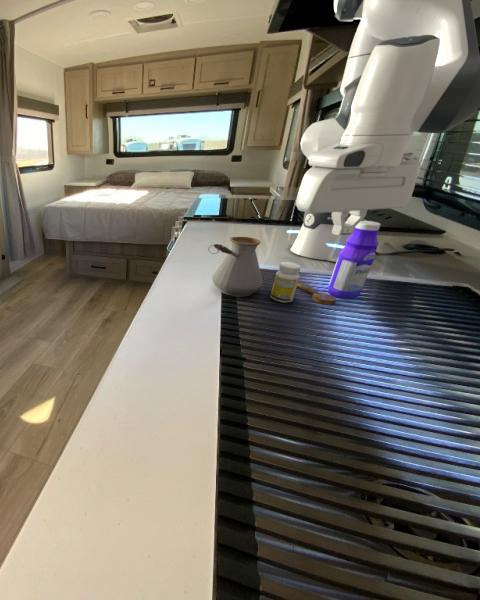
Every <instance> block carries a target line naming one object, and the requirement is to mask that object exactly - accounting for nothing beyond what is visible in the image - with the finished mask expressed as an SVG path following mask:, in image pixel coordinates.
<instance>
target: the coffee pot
mask: <svg viewBox="0 0 480 600" xmlns="http://www.w3.org/2000/svg"><path fill="white" fill-rule="evenodd" d="M229 241H230V242H231V248H228V247H226V246H224V245H222V244H220V243H219V244H218V243H214V244H211V245H210V246H209V247H208V252H209V253H210V254H212V255H216V254H219V252H221V253H224V254H226V255H225V256H224V257H223V259H222V260H221V262H220V264H219V265H218V266H217V268H216V269H215V271H214V272H213V273H212V276H211V280H212V283H213V284H214V286H215V287H216V288H217V290H218V291H219V292H221V293H222V294H225V295H228V296H231V297H237V298H238V297H241V298H242V297H243V298H245V297H248V296H251V295H252V294H254V293H256V292H257V291H259V290H261V288H262V287H263V286H264V282H263V277H262V273H261V268H260V264H259V260H258V256H257V252H256V249H257V247H258V246H259V245H260V244H261V240H259V239H257V238H255V237H250V236H232V237H230V238H229ZM211 247H213V248H215V249H216V250H217V252H215V253H214V252H211V251H210V248H211Z"/></svg>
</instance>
